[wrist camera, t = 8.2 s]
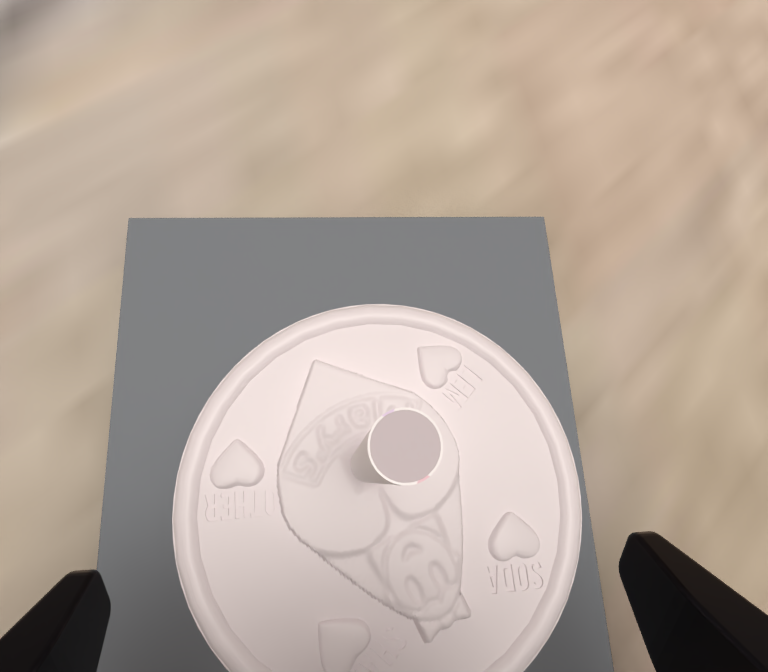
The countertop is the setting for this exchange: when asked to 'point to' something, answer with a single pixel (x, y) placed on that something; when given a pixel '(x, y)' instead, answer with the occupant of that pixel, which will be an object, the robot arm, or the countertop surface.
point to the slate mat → (259, 322)
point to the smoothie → (377, 502)
